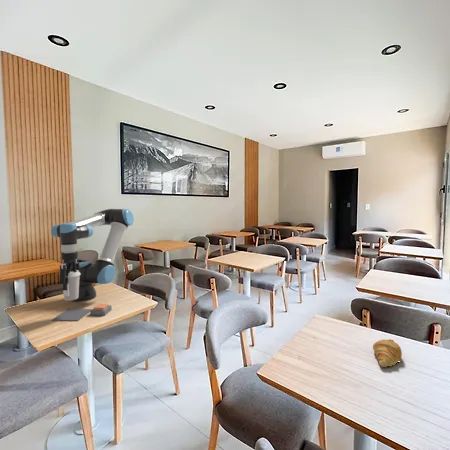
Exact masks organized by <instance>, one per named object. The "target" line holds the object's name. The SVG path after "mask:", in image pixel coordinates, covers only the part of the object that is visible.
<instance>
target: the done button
mask: <svg viewBox="0 0 450 450" xmlns="http://www.w3.org/2000/svg"><path fill="white" fill-rule="evenodd" d="M108 305H109V303H98V304H96V305H95V306H94V307H93V308H94V310H105V309H106V308H107V307H108Z"/></svg>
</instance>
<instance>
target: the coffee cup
mask: <svg viewBox="0 0 450 450" xmlns="http://www.w3.org/2000/svg"><path fill="white" fill-rule="evenodd" d="M80 275H81V274H80V272H79V271H78V270H76V272H74V271H70V273H69V274H68V284H69V296H64V295H63V298H64V301H68V302H69V301H71V300H75V299H78V296H79V277H80ZM61 285H62V286H63V284H61ZM71 302H72V301H71Z"/></svg>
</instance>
